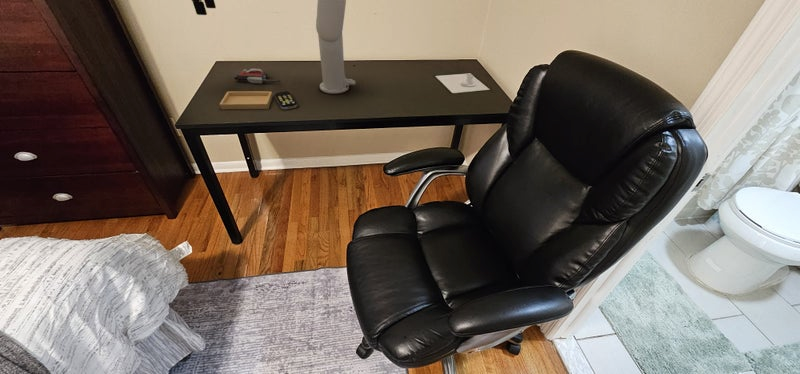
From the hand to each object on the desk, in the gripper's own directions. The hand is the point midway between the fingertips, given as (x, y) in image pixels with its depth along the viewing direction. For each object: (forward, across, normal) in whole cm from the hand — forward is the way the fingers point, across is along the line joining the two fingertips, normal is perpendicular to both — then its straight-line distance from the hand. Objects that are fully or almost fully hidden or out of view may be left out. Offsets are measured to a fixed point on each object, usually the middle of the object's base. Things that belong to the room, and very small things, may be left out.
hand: (206, 11), depth 112 cm
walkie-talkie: (+30, +9, -10) cm, 32 cm away
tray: (+29, -12, -10) cm, 33 cm away
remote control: (+30, -12, -24) cm, 40 cm away
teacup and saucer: (+29, +10, -104) cm, 108 cm away
